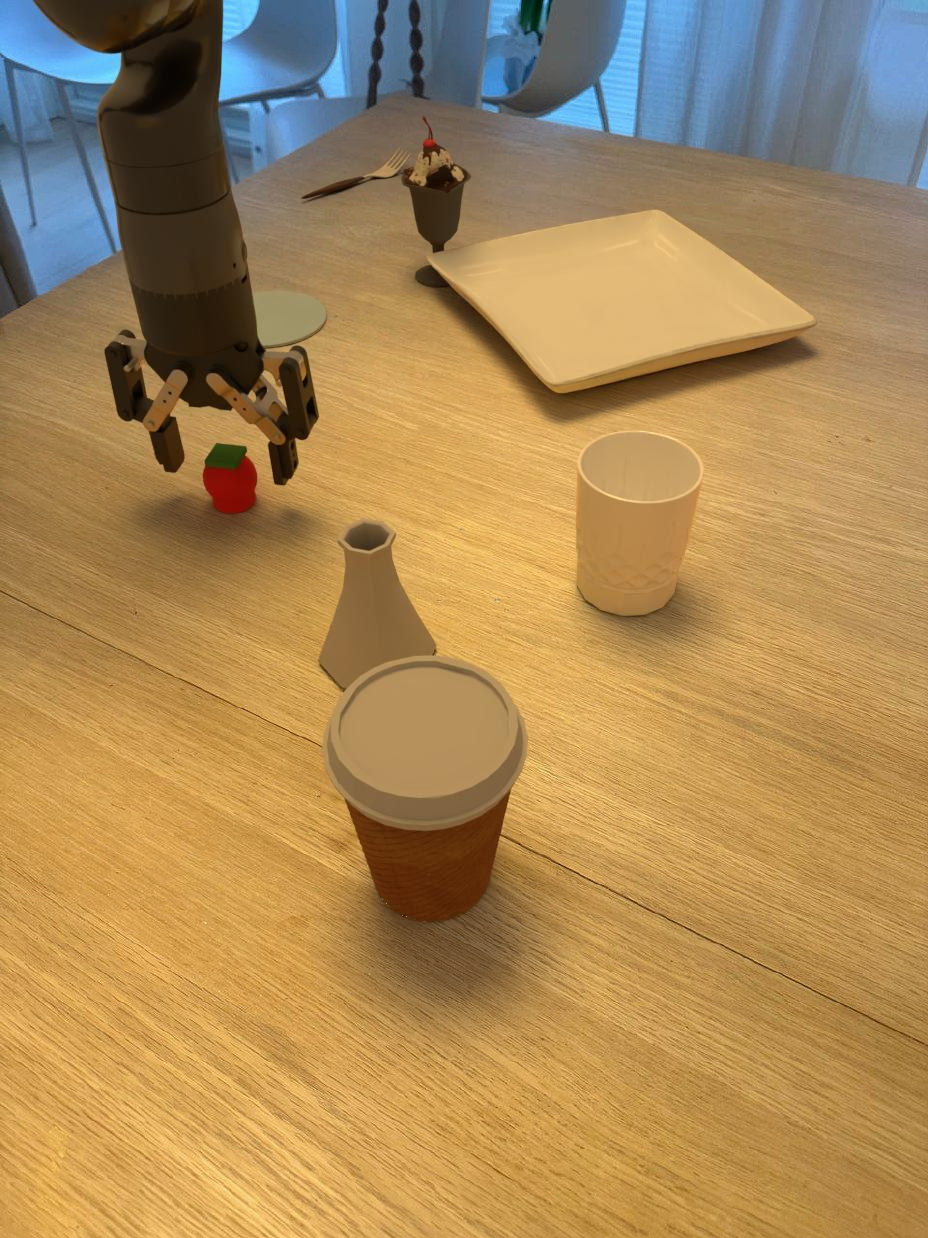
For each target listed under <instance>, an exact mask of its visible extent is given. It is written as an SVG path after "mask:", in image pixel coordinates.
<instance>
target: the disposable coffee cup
mask: <svg viewBox="0 0 928 1238" xmlns="http://www.w3.org/2000/svg"><path fill="white" fill-rule="evenodd" d="M528 743H529V737H528V731H527V727H526V723H525V719H524V718H523V716H522V714H521V712H520V709H519V708H518V706H517V705H516V704H515V703H514V701H513V697H511V695H510V693H509V692H508V690H507V689H506V687H505V686H504V685H503V684H502V683H501V682H500V681H499V680H498V679H497V678H495V677H494V676H492V674H490V673H489V672H487V671H486V670H485V669H483V668H481V667H479V666H477V665H475V664H473V663H471V662H468V661H465V660H463V659H458V658H454V657H449V656H444V655H434V654H432V655H428V656H412V657H407V658H403V659H398V660H394V661H390V662H386V663H384V664H381V665H379V666H377V667H375V668H373V669H371V670H369V671H368V672H366V673H364V674H363V675H361V676H360V677H358V678H357V679H356V680H355V681H354V682H353V683H352V684H351V685H350V686H349V687H348V688H345V689H344V691H343V693H342V694H341V696H340V697H339V698H338V700H337V702H336V704H335V706H334V708H333V711H332V714H331V715H330V717H329V718H328V722H327V723H326V726H325V729H324V732H323V738H322V744H321V752H322V758H323V763H324V769H325V771H326V773H327V775H328V777H329V780H330V783H331V784H332V785H333V787H334V788H335V790H337V792H338V794H339V795H340V796H341V797H342V798H344V802H345V804H346V808H347V810H348V812H349V816H350V818H351V822H352V825H353V826H354V830H355V833H356V836H357V838H358V842H359V844H360V846H361V850H362V852H363V854H364V858H365V860H366V864H367V866H368V870H369V872H370V875H371V878H372V880H373V883H374V887H375V889H377V890H376V892H377V891H378V892H377V894H378V893H379V894H378V896H379V897H380V898H382V899H383V900H382V899H381V900H382V902H383V903H384V902H385V903H387V905H388V906H389V907H388V906H387V905H386V906H387V907H388V908H389V909H391V910H392V909H393V910H394V911H393V910H392V911H393V912H395V913H396V914H398V913H399V914H398V915H400V914H401V915H403V916H405V917H404V918H406V919H409V918H410V919H409V920H413V921H417V922H422V921H426V922H425V923H436V922H435V921H439V922H444V921H443V920H445V921H447V920H451V919H454V917H455V918H457V917H459V916H461V914H462V915H463V914H465V913H467V912H468V911H470V910H471V909H473V908H474V907H475V906H476V905H477V903H479V902H480V900H481V899H482V898H483V897H484V895H485V893H486V892H487V890H488V887H489V885H490V881H491V876H492V871H493V867H494V863H495V858H496V855H497V850H498V846H499V842H500V836H501V833H502V830H503V829H502V828H503V825H504V820H505V816H506V812H507V809H508V803H509V800H510V795H511V791H512V788H513V787H514V785H515V783H516V782H517V780H518V779H519V777H520V775H521V774H522V772H523V769H524V766H525V763H526V759H527V756H528V747H529V744H528ZM385 903H384V904H385ZM401 915H400V916H401ZM403 916H402V917H403ZM406 916H407V917H406Z"/></svg>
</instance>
